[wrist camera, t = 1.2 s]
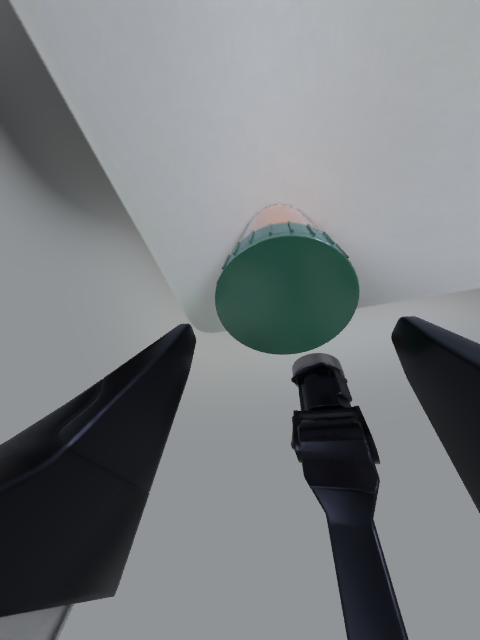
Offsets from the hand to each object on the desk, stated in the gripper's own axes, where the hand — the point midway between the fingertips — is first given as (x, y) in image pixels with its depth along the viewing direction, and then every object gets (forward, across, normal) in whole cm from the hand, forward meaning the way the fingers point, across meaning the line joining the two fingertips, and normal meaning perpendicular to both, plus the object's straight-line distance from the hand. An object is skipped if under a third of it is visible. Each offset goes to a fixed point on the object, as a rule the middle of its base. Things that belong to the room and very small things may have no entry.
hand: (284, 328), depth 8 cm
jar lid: (+2, 0, 0) cm, 2 cm away
